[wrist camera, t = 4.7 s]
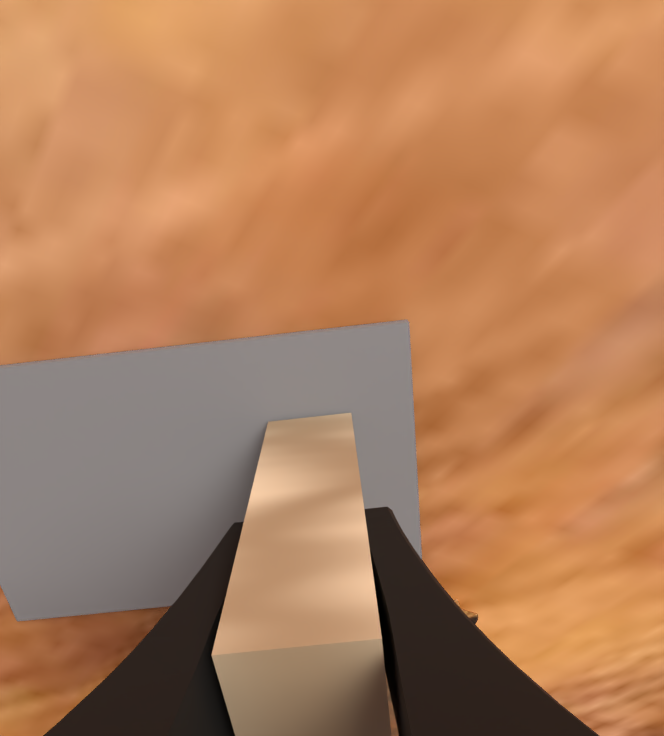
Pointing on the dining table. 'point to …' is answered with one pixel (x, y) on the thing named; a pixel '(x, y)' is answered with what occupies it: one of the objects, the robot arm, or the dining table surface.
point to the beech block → (304, 594)
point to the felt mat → (178, 456)
